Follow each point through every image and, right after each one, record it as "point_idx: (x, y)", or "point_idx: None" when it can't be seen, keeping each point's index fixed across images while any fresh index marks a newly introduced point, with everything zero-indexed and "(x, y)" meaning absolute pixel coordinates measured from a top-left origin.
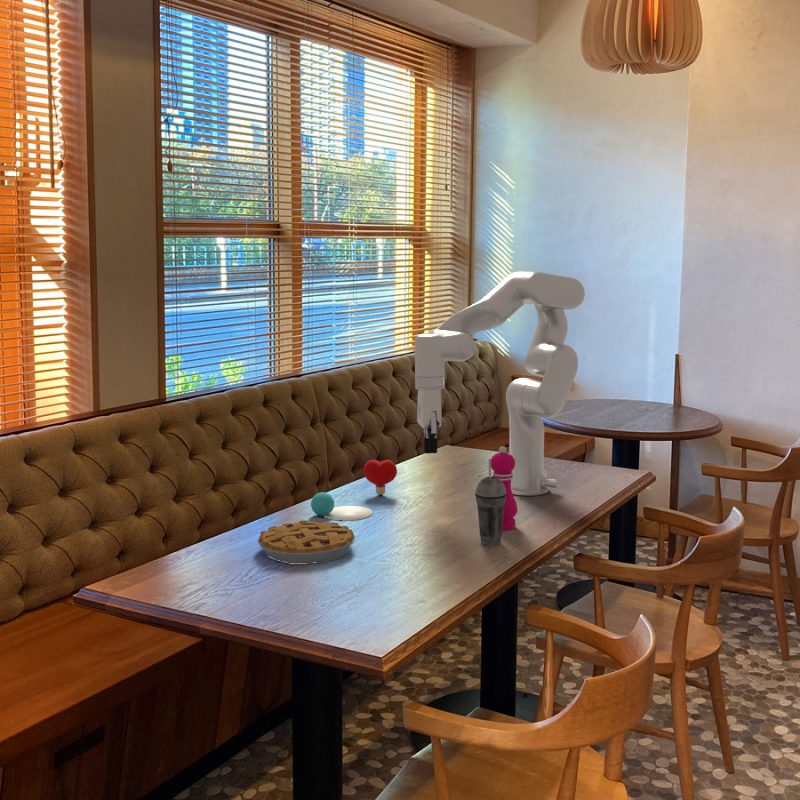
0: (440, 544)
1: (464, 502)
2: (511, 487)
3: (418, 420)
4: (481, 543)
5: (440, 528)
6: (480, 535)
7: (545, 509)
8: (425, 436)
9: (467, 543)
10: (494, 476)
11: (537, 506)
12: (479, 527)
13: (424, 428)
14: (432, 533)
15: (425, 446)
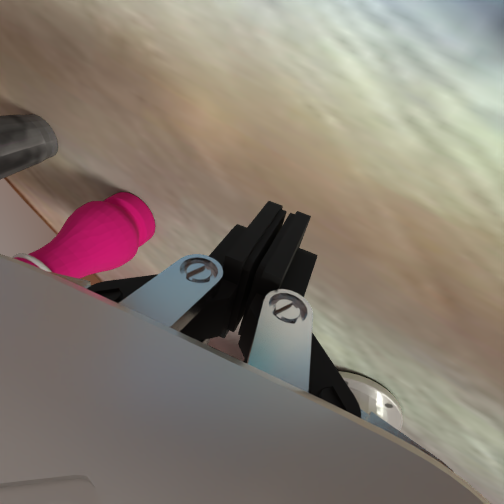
0: (24, 8)
1: (341, 264)
2: (352, 390)
3: (289, 463)
4: (35, 115)
5: (143, 75)
6: (17, 115)
7: (214, 338)
8: (274, 294)
9: (35, 85)
10: (16, 258)
11: (236, 342)
12: (2, 118)
13: (268, 362)
14: (105, 28)
15: (252, 222)
